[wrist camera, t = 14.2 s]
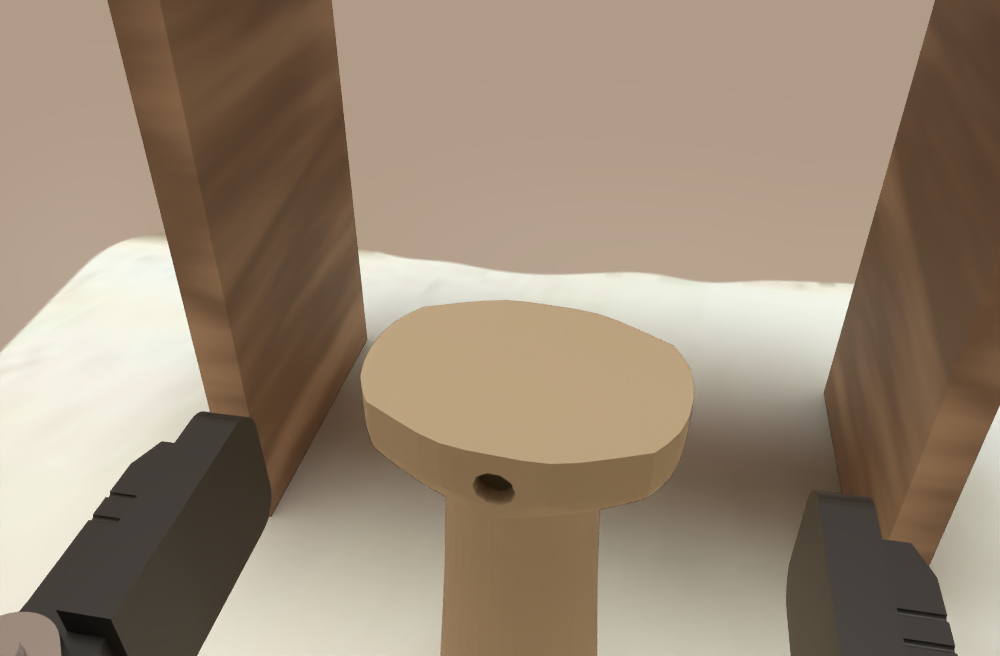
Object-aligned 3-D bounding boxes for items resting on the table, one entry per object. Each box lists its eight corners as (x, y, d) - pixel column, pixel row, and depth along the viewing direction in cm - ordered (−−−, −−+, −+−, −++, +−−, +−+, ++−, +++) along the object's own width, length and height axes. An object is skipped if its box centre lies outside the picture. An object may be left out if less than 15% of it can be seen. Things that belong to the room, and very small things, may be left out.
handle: (437, 677, 28) (411, 284, 19) (635, 725, 27) (703, 328, 18) (383, 828, 24) (320, 423, 16) (610, 893, 23) (681, 491, 14)
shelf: (857, 397, 40) (1051, -223, 26) (907, 613, 30) (1260, -190, 16) (338, 335, 43) (265, -233, 30) (234, 510, 34) (54, -211, 20)
